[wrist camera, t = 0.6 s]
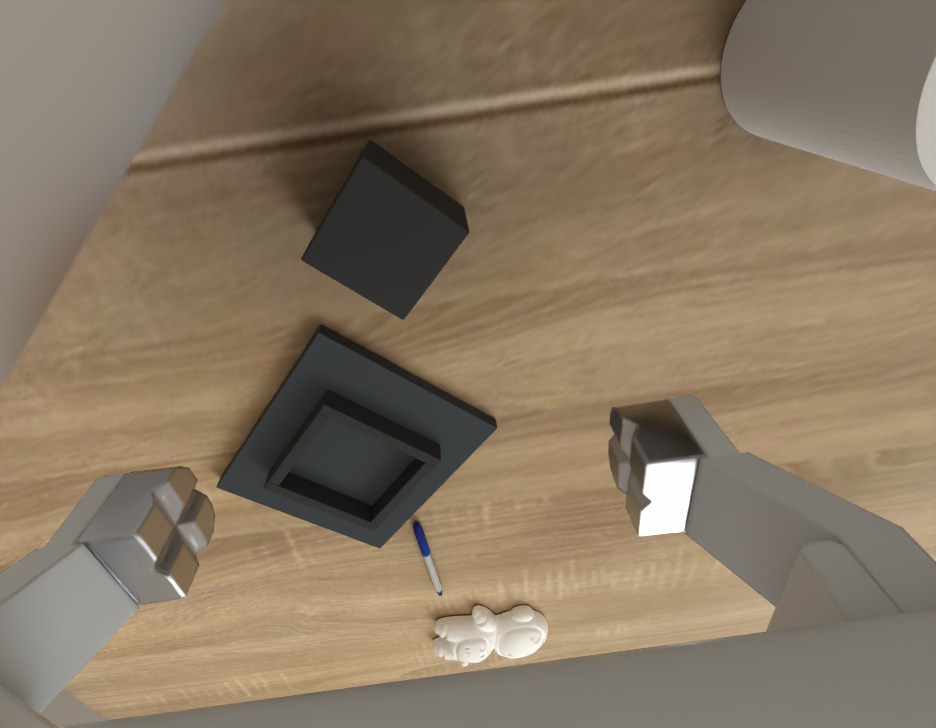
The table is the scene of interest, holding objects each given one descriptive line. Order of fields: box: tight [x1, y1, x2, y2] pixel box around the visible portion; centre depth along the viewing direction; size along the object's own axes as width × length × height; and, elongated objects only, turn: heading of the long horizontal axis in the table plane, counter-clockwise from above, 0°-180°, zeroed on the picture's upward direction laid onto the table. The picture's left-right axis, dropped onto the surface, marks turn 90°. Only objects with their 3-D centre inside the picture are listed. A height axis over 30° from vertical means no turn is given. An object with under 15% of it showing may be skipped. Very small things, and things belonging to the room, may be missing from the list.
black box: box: [301, 140, 469, 320], centre depth 26 cm, size 6×6×4 cm
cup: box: [721, 0, 936, 191], centre depth 19 cm, size 8×8×12 cm
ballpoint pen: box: [413, 523, 442, 596], centre depth 44 cm, size 10×1×1 cm, turn 11°
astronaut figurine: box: [432, 605, 548, 666], centre depth 51 cm, size 9×12×3 cm
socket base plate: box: [217, 325, 497, 548], centre depth 36 cm, size 14×16×3 cm
